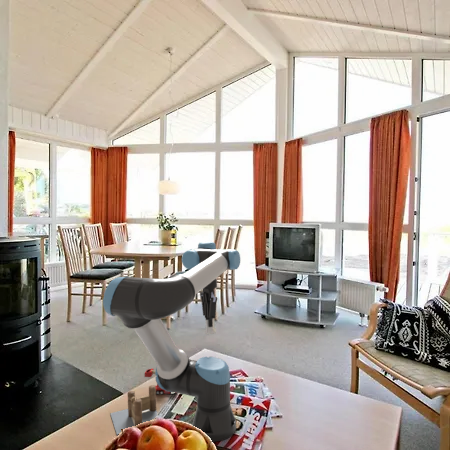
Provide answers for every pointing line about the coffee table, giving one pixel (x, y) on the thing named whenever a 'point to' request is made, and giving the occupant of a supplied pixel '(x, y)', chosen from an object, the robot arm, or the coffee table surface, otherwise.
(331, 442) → the coffee table surface
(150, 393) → the fence fixed
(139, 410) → the fence flap
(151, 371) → the toy fire truck
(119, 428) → the board
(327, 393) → the coffee table surface
